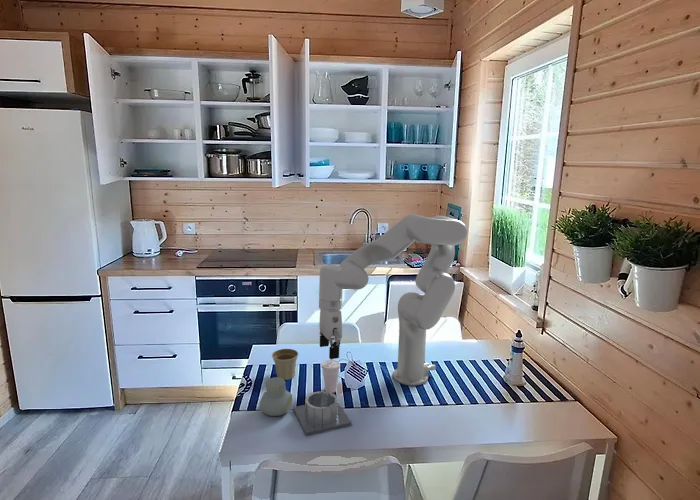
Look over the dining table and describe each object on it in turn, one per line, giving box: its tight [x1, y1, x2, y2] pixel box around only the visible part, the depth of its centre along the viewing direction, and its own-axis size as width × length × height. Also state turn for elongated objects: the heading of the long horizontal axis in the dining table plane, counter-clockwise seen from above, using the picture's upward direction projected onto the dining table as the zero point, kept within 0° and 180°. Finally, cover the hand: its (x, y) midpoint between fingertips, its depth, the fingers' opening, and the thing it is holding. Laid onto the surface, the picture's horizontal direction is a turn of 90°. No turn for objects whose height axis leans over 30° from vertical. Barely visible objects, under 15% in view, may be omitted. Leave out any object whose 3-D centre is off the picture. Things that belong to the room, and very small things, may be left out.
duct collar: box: [292, 390, 352, 437], centre depth 133 cm, size 14×14×6 cm
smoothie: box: [321, 359, 341, 394], centre depth 147 cm, size 6×6×14 cm
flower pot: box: [271, 348, 299, 381], centre depth 157 cm, size 9×9×9 cm
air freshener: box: [259, 376, 293, 417], centre depth 136 cm, size 11×8×10 cm
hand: (329, 352), depth 146 cm, fingers open, 9 cm apart
